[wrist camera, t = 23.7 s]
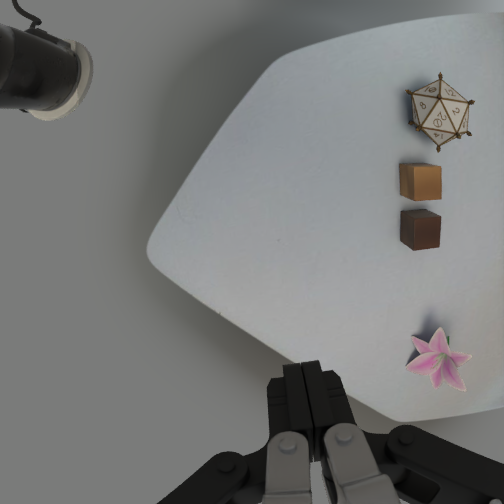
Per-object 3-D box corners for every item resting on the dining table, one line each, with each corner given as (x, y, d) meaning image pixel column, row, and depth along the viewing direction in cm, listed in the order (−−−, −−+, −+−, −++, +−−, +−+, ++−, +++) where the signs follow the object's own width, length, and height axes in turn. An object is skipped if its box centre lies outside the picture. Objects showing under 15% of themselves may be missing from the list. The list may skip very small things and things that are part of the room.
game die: (416, 128, 37) (448, 178, 32) (379, 94, 33) (412, 143, 28) (459, 90, 31) (500, 136, 26) (426, 49, 27) (472, 91, 22)
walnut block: (400, 211, 38) (414, 218, 34) (426, 209, 37) (441, 216, 34) (400, 240, 39) (413, 251, 35) (425, 237, 39) (439, 247, 35)
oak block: (399, 163, 36) (413, 166, 32) (425, 163, 35) (441, 166, 32) (400, 195, 37) (414, 201, 33) (425, 193, 37) (441, 199, 33)
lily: (430, 297, 43) (428, 340, 36) (486, 324, 40) (491, 368, 32) (396, 345, 50) (387, 387, 43) (448, 367, 47) (444, 409, 40)
